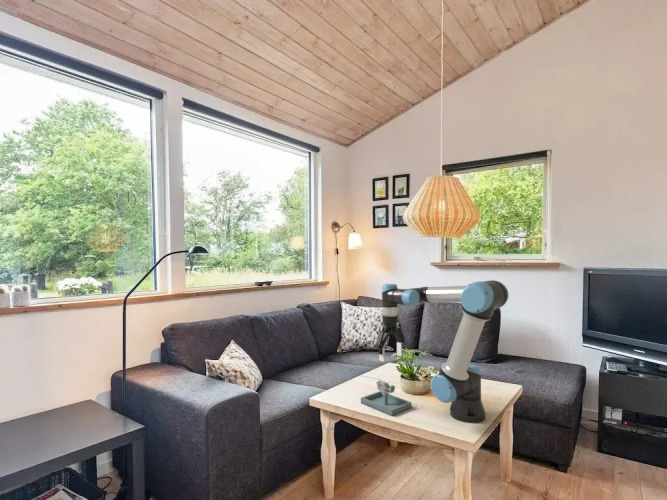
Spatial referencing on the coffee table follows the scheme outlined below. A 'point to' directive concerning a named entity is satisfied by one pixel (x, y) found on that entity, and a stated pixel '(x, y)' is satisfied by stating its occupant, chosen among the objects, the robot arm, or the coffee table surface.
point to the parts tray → (391, 408)
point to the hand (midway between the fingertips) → (390, 358)
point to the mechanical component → (385, 389)
